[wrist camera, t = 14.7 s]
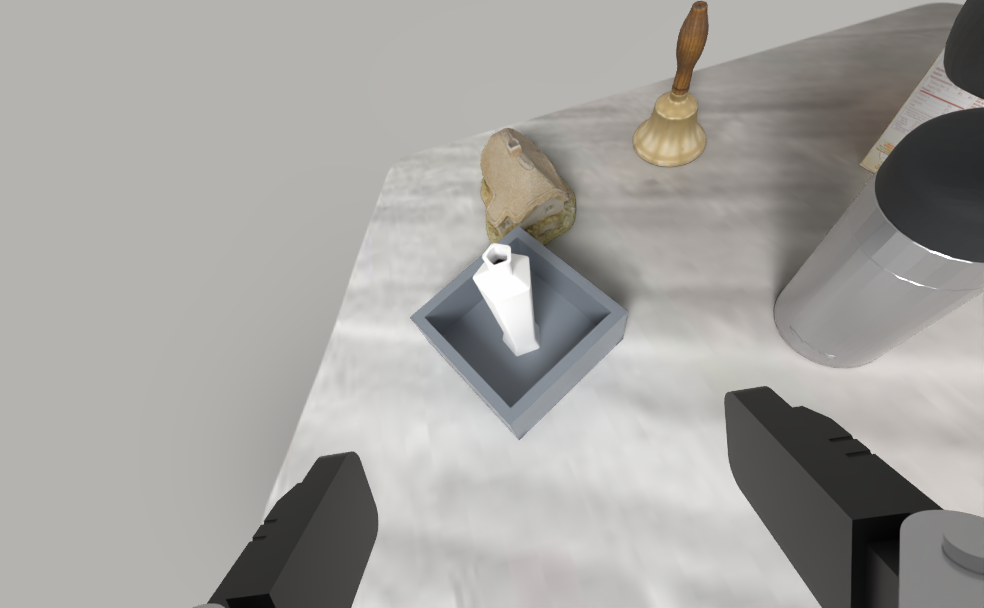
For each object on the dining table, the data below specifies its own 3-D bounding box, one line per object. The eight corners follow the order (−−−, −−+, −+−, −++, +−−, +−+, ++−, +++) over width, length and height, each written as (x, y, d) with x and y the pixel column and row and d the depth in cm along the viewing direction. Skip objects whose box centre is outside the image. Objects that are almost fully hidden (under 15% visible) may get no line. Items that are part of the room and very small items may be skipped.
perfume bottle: (498, 318, 47) (465, 232, 34) (541, 315, 47) (524, 225, 33) (499, 360, 45) (463, 286, 32) (544, 358, 44) (526, 280, 31)
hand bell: (669, 106, 58) (696, -33, 44) (721, 141, 54) (770, 0, 40) (618, 141, 57) (629, 10, 43) (667, 179, 53) (697, 48, 39)
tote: (524, 257, 51) (517, 225, 46) (623, 338, 45) (628, 311, 40) (428, 341, 49) (409, 317, 43) (519, 440, 42) (509, 425, 37)
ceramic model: (595, 228, 52) (597, 164, 43) (504, 269, 51) (487, 213, 42) (541, 149, 58) (533, 80, 50) (460, 185, 58) (438, 121, 49)
